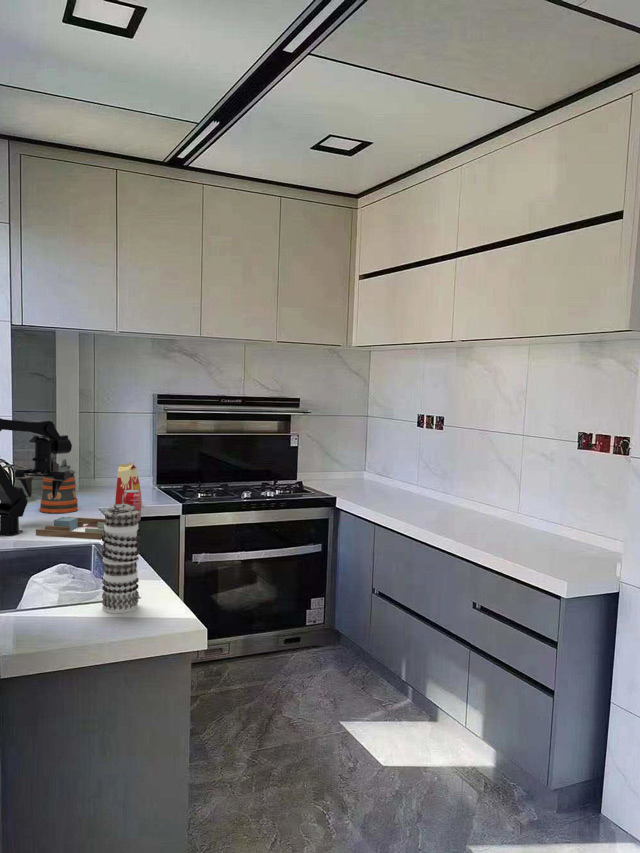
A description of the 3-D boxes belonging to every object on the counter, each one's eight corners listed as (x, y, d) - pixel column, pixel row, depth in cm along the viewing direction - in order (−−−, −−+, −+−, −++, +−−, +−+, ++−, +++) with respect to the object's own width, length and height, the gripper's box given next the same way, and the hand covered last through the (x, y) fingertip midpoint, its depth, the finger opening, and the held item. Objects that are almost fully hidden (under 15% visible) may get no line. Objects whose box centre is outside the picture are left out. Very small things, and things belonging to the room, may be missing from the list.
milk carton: (142, 507, 295) (143, 460, 293) (131, 511, 286) (131, 463, 285) (123, 505, 297) (124, 459, 296) (111, 509, 288) (112, 461, 287)
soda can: (121, 520, 267) (121, 489, 267) (139, 519, 270) (140, 489, 269) (122, 523, 261) (123, 492, 260) (141, 523, 263) (142, 491, 262)
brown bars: (107, 539, 235) (107, 531, 234) (35, 535, 238) (35, 526, 237) (133, 526, 257) (133, 518, 257) (67, 522, 260) (67, 514, 260)
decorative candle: (111, 599, 172) (112, 501, 171) (146, 603, 171) (147, 503, 169) (93, 611, 163) (94, 507, 162) (129, 615, 162) (130, 510, 160)
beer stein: (44, 505, 292) (44, 458, 291) (80, 505, 295) (81, 458, 294) (37, 514, 274) (37, 464, 272) (76, 513, 277) (76, 464, 276)
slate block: (69, 532, 245) (69, 521, 245) (53, 531, 246) (53, 520, 246) (77, 528, 251) (77, 517, 251) (62, 527, 252) (62, 516, 252)
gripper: (77, 454, 256) (76, 495, 257) (29, 451, 258) (28, 493, 259) (63, 456, 245) (62, 500, 246) (13, 454, 247) (13, 497, 247)
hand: (42, 497), depth 250 cm, fingers open, 9 cm apart
